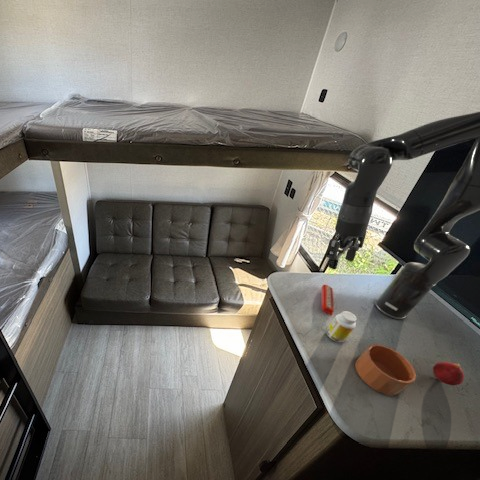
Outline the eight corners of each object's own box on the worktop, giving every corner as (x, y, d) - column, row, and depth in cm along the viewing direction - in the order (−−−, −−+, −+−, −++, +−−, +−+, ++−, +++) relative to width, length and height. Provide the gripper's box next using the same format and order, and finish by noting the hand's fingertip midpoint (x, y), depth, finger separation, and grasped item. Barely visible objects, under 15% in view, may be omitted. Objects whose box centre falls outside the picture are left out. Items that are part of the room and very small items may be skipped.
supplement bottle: (348, 341, 83) (364, 322, 77) (334, 344, 82) (349, 324, 76) (335, 327, 87) (349, 307, 82) (321, 329, 86) (335, 310, 80)
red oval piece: (457, 392, 71) (479, 378, 67) (435, 387, 72) (455, 373, 68) (443, 372, 76) (462, 357, 71) (422, 368, 77) (440, 353, 72)
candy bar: (331, 317, 91) (335, 312, 89) (320, 313, 92) (323, 308, 91) (330, 289, 103) (333, 284, 101) (320, 286, 104) (323, 281, 102)
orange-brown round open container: (369, 352, 80) (381, 339, 76) (408, 386, 72) (424, 373, 68) (346, 364, 76) (358, 351, 72) (385, 402, 68) (401, 389, 64)
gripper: (351, 227, 68) (337, 276, 76) (382, 215, 73) (367, 262, 81) (324, 219, 75) (314, 265, 82) (355, 208, 80) (343, 253, 87)
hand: (340, 264), depth 81 cm, fingers open, 8 cm apart
